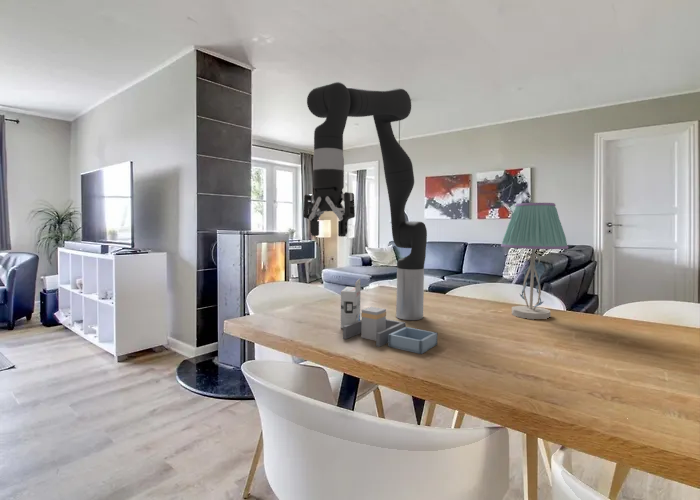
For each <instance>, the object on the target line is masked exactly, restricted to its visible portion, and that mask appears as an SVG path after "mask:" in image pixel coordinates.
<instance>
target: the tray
mask: <svg viewBox="0 0 700 500" xmlns="http://www.w3.org/2000/svg"><path fill="white" fill-rule="evenodd" d="M387 344H388V346H387V347H389V348H392V349H398V350H402V351H406V352H410V353H415V354H418V355H422V354H424V353H426V352H428V351H429V350H430V349H432V348H434V347H435V346H437V345H438V332H435V331H430V330H425V329H419V328H414V327H410V326H409V327H408V326H406V327H404V328H402V329H400V330H398V331H395V332H393V333H391V334H389V335H388V343H387Z"/></svg>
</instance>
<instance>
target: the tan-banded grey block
mask: <svg viewBox="0 0 700 500" xmlns="http://www.w3.org/2000/svg"><path fill="white" fill-rule="evenodd" d="M386 316H387V309H386V308H383V307H382V308H380V307H375V306H370V307H367V308H364V309H361V312H360V318H361V320H362V325H361V333H360V334H361V337H360V338H362V339H367V340H371V341H374V342H376V333H378V332H380V331H383V330H385V329H386V319H387V317H386Z"/></svg>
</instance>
